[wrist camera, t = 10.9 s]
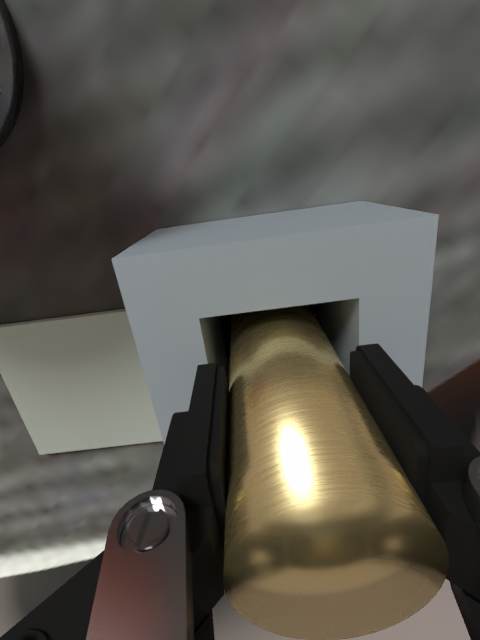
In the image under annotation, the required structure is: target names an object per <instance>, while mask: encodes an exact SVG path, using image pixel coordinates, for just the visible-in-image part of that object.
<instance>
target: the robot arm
mask: <svg viewBox="0 0 480 640" xmlns="http://www.w3.org/2000/svg"><path fill="white" fill-rule="evenodd" d="M350 378H351V380H352V382H353V383H354V385H355V387H356V389H357V390H358V392H359V394H360V396H361V397H362V399H363V401H364V403H365V404H366V406H367V408H368V409H369V411H370V413H371V415H372V416H373V418H374V420H375V422H376V423H377V425H378V427H379V429H380V430H381V432H382V434H383V436H384V437H385V439H386V441H387V442H388V444H389V446H390V448H391V449H392V451H393V453H394V455H395V456H396V458H397V460H398V462H399V463H400V465H401V467H402V469H403V470H404V472H405V474H406V475H407V477H408V479H409V481H410V482H411V484H412V486H413V488H414V489H415V491H416V493H417V495H418V496H419V498H420V500H421V502H422V503H423V505H424V507H425V509H426V510H427V512H428V514H429V515H430V517H431V519H432V521H433V522H434V524H435V526H436V528H437V529H438V531H439V533H440V535H441V536H442V538H443V540H444V542H445V544H446V547H447V550H448V556H449V566H448V572H447V575H446V579H448V580H449V581H450V584H451V589H452V591H453V594H454V596H455V599H456V602H457V604H458V607H459V610H460V612H461V615H462V617H463V619H464V623H465V625H466V628H467V630H468V633H469V636H470V638H471V640H480V452H479V451H478V450H477V449H476V448H475V447H474V445H473V444H472V443H471V442H470V441H469V440H468V439H467V437H465V435H464V434H463V433H462V432H461V431H460V430H459V428H458V427H457V426H456V425H455V424H454V423H453V422H452V421H451V420H450V418H449V417H448V416H447V415H446V414H445V413H444V412H443V410H442V409H441V408H440V407H439V406H438V405H437V404H436V403H435V402H434V400H433V399H432V398H431V397H430V396H429V395H428V394H427V392H426V391H425V390H424V389H423V388H422V387H420V386H419V385H414V384H413V383H412V382H411V381H410V380H409V379H408V377H407V376H406V375H405V374H404V373H403V372H402V370H401V369H400V368H399V367H398V366H397V365H396V363H395V362H394V361H393V360H392V359H391V358H390V357H389V355H388V354H387V353H386V352H385V351H384V350H383V348H382V347H381V346H380V345H379V344H378V343H376V344H367V345H359V346H357V347H356V351H351V352H350ZM228 416H229V389H228V383H227V377H226V371H225V367H218V365H217V363H210V364H202V365H198V366H197V371H196V376H195V381H194V386H193V391H192V396H191V401H190V406H189V411H185V412H176V413H174V414H173V415H172V418H171V422H170V426H169V429H168V433H167V437H166V441H165V444H164V448H163V452H162V456H161V459H160V463H159V467H158V471H157V474H156V478H155V482H154V486H153V489H152V490H150V491H147V492H145V493H142V494H139V495H138V496H136V497H134V498H133V499H131V500H130V501H128V502H127V503H126V504H125V505H124V506H123V507H122V508H121V509H120V510H119V511H118V513H117V514H116V516H115V517H114V519H113V520H112V523H111V526H110V529H109V531H108V536H107V541H106V545H105V550H104V551H103V552H102V553H100V554H99V555H98V556H97V557H96V558H94V559H93V560H92V561H91V562H90V563H89V564H87V565H86V566H85V567H84V568H83V569H82V570H80V571H79V572H78V573H77V574H75V575H74V576H73V577H72V578H71V579H70V580H68V581H67V582H66V583H65V584H64V585H62V586H61V587H60V588H59V589H58V590H56V591H55V592H54V593H53V594H52V595H51V596H49V597H48V598H47V599H46V600H45V601H43V602H42V603H41V604H40V605H38V606H37V607H36V608H35V609H34V610H33V611H31V612H30V613H29V614H28V615H27V616H26V617H24V618H23V619H22V620H21V621H19V622H18V623H17V624H16V625H15V626H13V627H12V628H11V629H10V630H9V631H8V632H6V633H5V634H4V635H3V636H2V637H0V640H215V637H214V623H213V610H212V608H213V607H214V606H215V605H216V603H217V602H218V601H219V600H220V599H221V597H222V596H223V595H224V583H223V572H224V539H225V514H226V485H227V450H228Z"/></svg>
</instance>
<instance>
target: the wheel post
mask: <svg viewBox="0 0 480 640" xmlns="http://www.w3.org/2000/svg"><path fill="white" fill-rule="evenodd" d="M22 94H23V65H22V58H21V52H20V46H19V43H18V39H17V35H16V31H15V28H14V25H13V23H12V20H11V17H10V15H9V12H8V10H7V8H6V6H5V4H4V1H3V0H0V146H1V145H2V144H3V142H4V141H5V140H6V139H7V137H8V136H9V134H10V132H11V131H12V129H13V127H14V125H15V122H16V120H17V117H18V114H19V111H20V106H21V101H22Z"/></svg>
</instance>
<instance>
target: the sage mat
mask: <svg viewBox="0 0 480 640" xmlns="http://www.w3.org/2000/svg"><path fill="white" fill-rule="evenodd" d="M0 373H1V376H2V378H3V380H4V382H5V384H6V386H7V388H8V390H9V392H10V394H11V396H12V398H13V401H14V403H15V405H16V407H17V409H18V411H19V413H20V415H21V417H22V419H23V421H24V423H25V426H26V428H27V430H28V432H29V434H30V436H31V438H32V440H33V442H34V444H35V446H36V448H37V451H38V453H39V455H42V454H51V453H60V452H69V451H78V450H86V449H95V448H104V447H113V446H122V445H131V444H140V443H149V442H158V441H163V439H162V436H161V432H160V428H159V425H158V421H157V418H156V414H155V411H154V407H153V404H152V400H151V397H150V393H149V390H148V386H147V383H146V379H145V376H144V372H143V369H142V365H141V362H140V358H139V355H138V351H137V348H136V344H135V341H134V337H133V334H132V330H131V327H130V323H129V319H128V316H127V312H126V309H119V310H111V311H103V312H95V313H88V314H80V315H72V316H64V317H57V318H49V319H41V320H33V321H26V322H18V323H10V324H2V325H0Z"/></svg>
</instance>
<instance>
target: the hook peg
mask: <svg viewBox="0 0 480 640" xmlns="http://www.w3.org/2000/svg"><path fill="white" fill-rule="evenodd" d="M448 566H449V556H448V550H447V547H446V544H445V542H444V540H443V538H442V536H441V535H440V533H439V531H438V529H437V528H436V526H435V524H434V522H433V521H432V519H431V517H430V515H429V514H428V512H427V510H426V509H425V507H424V505H423V503H422V502H421V500H420V498H419V496H418V495H417V493H416V491H415V489H414V488H413V486H412V484H411V482H410V481H409V479H408V477H407V475H406V474H405V472H404V470H403V469H402V467H401V465H400V463H399V462H398V460H397V458H396V456H395V455H394V453H393V451H392V449H391V448H390V446H389V444H388V442H387V441H386V439H385V437H384V436H383V434H382V432H381V430H380V429H379V427H378V425H377V423H376V422H375V420H374V418H373V416H372V415H371V413H370V411H369V409H368V408H367V406H366V404H365V403H364V401H363V399H362V397H361V396H360V394H359V392H358V390H357V389H356V387H355V385H354V383H353V382H352V380H351V378H350V376H349V375H348V373H347V371H346V369H345V368H344V366H343V364H342V363H341V361H340V359H339V357H338V356H337V354H336V352H335V350H334V349H333V347H332V345H331V343H330V342H329V340H328V338H327V336H326V335H325V333H324V331H323V330H322V328H321V326H320V324H319V323H318V321H317V319H316V317H315V316H314V314H313V312H312V310H311V309H310V307H309V305H301V306H293V307H285V308H277V309H269V310H261V311H253V312H245V313H238V314H231V341H230V374H229V416H228V450H227V485H226V514H225V539H224V572H223V583H224V590H225V593H226V595H227V598H228V599H229V601H230V603H231V605H232V606H233V607H234V609H235V610H236V611H237V612H238V613H239V614H240V615H241V616H242V617H244V618H245V619H246V620H248V621H249V622H251V623H252V624H254V625H256V626H258V627H260V628H262V629H264V630H266V631H269V632H272V633H274V634H278V635H282V636H285V637H291V638H296V639H305V640H338V639H347V638H353V637H358V636H363V635H367V634H370V633H374V632H377V631H380V630H383V629H386V628H388V627H391V626H393V625H395V624H397V623H399V622H401V621H403V620H405V619H406V618H409V617H410V616H412V615H413V614H415V613H416V612H418V611H419V610H420V609H421V608H423V607H424V606H425V605H426V604H427V603H428V602H429V601H430V600H431V599H432V598H433V597H434V596H435V595H436V593H437V592H438V591H439V589H440V588H441V586H442V584H443V582H444V580H445V578H446V575H447V572H448Z"/></svg>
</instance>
